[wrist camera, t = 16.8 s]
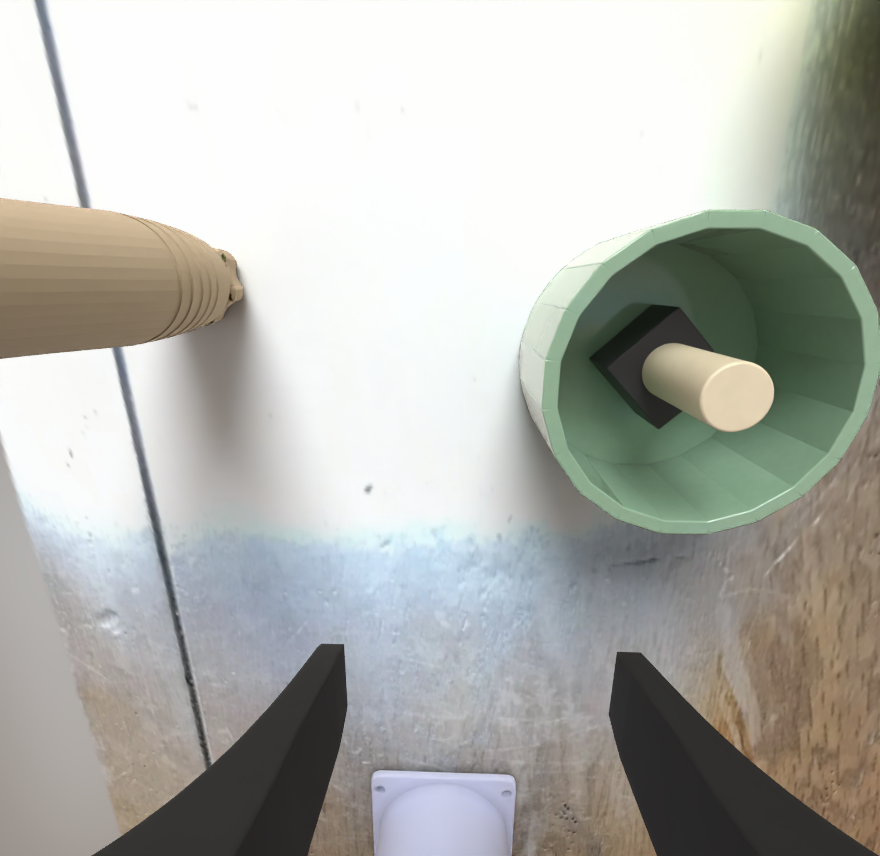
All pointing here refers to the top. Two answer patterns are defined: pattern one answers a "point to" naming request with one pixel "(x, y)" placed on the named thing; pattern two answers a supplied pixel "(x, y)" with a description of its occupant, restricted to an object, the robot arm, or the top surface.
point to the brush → (682, 374)
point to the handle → (103, 280)
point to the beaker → (728, 333)
